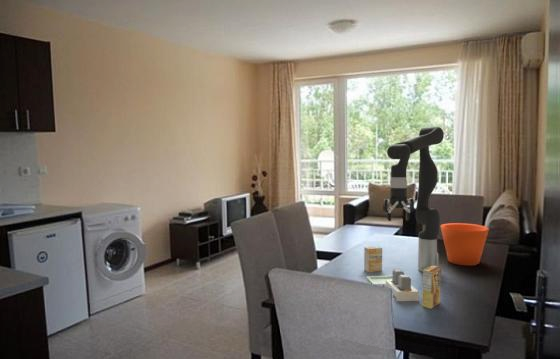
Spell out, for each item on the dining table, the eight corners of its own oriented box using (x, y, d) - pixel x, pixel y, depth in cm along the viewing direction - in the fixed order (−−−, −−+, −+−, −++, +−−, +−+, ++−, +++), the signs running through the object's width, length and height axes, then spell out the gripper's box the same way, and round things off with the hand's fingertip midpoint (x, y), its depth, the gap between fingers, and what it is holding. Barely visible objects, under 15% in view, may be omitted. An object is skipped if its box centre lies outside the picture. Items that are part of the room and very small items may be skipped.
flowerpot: (437, 264, 227) (437, 229, 226) (442, 254, 249) (442, 221, 248) (487, 270, 215) (488, 232, 214) (488, 258, 237) (489, 224, 236)
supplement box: (368, 274, 211) (368, 249, 210) (363, 271, 216) (363, 247, 215) (382, 272, 213) (382, 247, 212) (378, 270, 218) (378, 245, 217)
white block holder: (385, 288, 189) (385, 268, 188) (404, 288, 189) (405, 267, 188) (397, 301, 173) (397, 279, 172) (418, 300, 173) (418, 278, 172)
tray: (394, 279, 202) (394, 275, 202) (403, 287, 190) (403, 283, 190) (366, 280, 201) (366, 276, 201) (373, 288, 189) (373, 284, 189)
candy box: (430, 300, 173) (431, 265, 172) (440, 303, 170) (441, 266, 169) (421, 306, 167) (422, 269, 166) (432, 309, 164) (432, 271, 163)
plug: (401, 287, 187) (401, 269, 186) (404, 290, 183) (404, 271, 182) (392, 287, 187) (392, 269, 186) (395, 290, 183) (395, 271, 182)
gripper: (410, 185, 198) (410, 219, 199) (381, 186, 197) (381, 219, 198) (416, 187, 190) (416, 221, 192) (386, 187, 190) (386, 222, 191)
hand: (398, 220), depth 195 cm, fingers open, 8 cm apart
